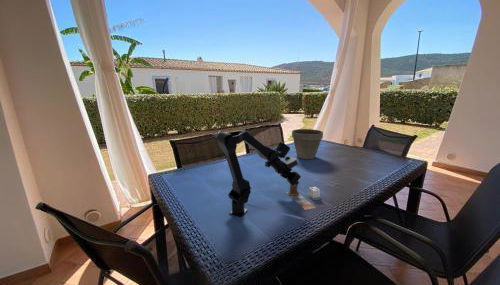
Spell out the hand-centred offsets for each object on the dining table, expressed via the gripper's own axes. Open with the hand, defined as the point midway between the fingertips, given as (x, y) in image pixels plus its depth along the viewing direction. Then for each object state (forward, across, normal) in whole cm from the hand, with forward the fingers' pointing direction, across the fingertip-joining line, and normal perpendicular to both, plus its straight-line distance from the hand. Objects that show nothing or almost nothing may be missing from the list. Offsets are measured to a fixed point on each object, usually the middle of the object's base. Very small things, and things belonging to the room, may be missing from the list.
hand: (296, 182), depth 119 cm
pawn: (+4, 0, +6) cm, 7 cm away
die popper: (+10, -6, 0) cm, 12 cm away
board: (+4, -6, +6) cm, 10 cm away
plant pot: (+35, +56, -24) cm, 70 cm away
